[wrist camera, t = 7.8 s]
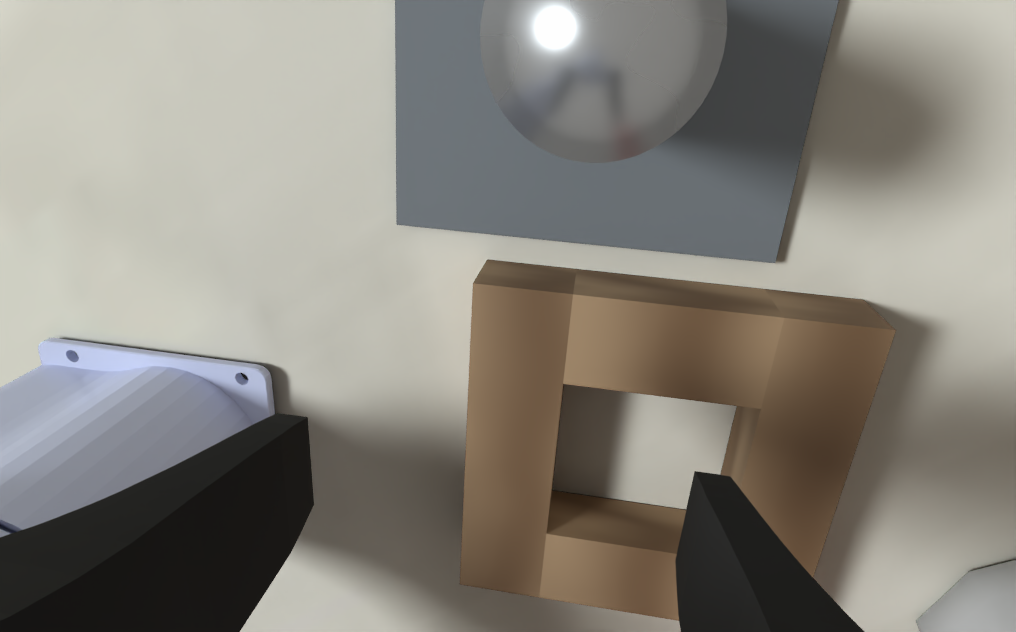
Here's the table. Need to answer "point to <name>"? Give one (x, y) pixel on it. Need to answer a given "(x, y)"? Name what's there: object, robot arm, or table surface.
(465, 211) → the slate mat
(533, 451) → the pocket block
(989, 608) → the flask
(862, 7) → the table surface
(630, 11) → the peg
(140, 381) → the robot arm
